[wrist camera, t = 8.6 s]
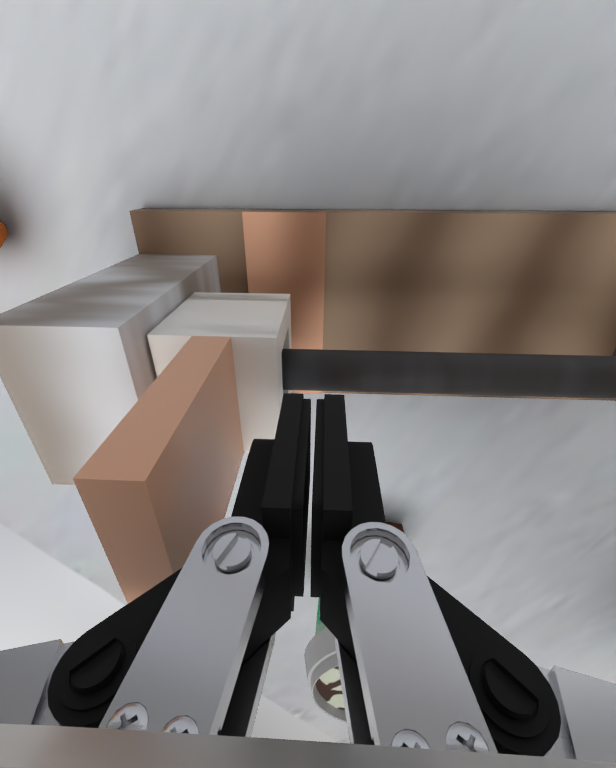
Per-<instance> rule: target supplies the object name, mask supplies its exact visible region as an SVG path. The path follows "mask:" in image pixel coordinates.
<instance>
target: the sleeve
mask: <svg viewBox="0 0 616 768" xmlns="http://www.w3.org/2000/svg"><path fill="white" fill-rule="evenodd" d="M147 337H148V341H149V345H150V350H151V354H152V358H153V362H154V366H155V371H156V375H157V378H156V380H155V381H154V382H153V383H152V384H151V385H150V387H149V388H148V389H147V390H146V391H145V393H144V394H143V395H142V396H141V397H140V399H139V400H138V401H137V402H136V403H135V405H134V406H133V407H132V408H131V409H130V411H129V412H128V413H127V414H126V415H125V417H124V418H123V419H122V420H121V421H120V423H119V424H118V425H117V426H116V427H115V429H114V430H113V431H112V432H111V433H110V435H109V436H108V437H107V438H106V439H105V441H104V442H103V443H102V444H101V445H100V447H99V448H98V449H97V450H96V451H95V453H94V454H93V455H92V456H91V457H90V459H89V460H88V461H87V462H86V463H85V464H84V466H83V467H82V468H81V469H80V470H79V472H78V473H77V474H76V475H75V476H74V478H73V480H74V483H75V485H76V487H77V489H78V492H79V494H80V496H81V498H82V501H83V503H84V505H85V507H86V510H87V512H88V514H89V517H90V519H91V521H92V523H93V526H94V528H95V530H96V532H97V535H98V537H99V539H100V541H101V544H102V546H103V548H104V551H105V553H106V555H107V557H108V560H109V562H110V564H111V566H112V569H113V571H114V573H115V575H116V578H117V580H118V582H119V585H120V587H121V589H122V591H123V594H124V596H125V598H126V600H127V603H128V604H129V603H130V602H132V601H133V600H135V599H136V598H138V597H139V596H140V595H142V594H143V593H145V592H146V591H148V590H149V589H151V588H152V587H154V586H155V585H157V584H158V583H160V582H161V581H163V580H164V579H166V578H167V577H169V576H170V575H172V574H173V573H175V572H176V571H178V570H179V569H181V568H182V567H183V566H184V564H185V562H186V560H187V558H188V556H189V554H190V553H191V551H192V549H193V547H194V545H195V543H196V541H197V540H198V538H199V537H200V535H201V534H202V533H203V531H204V530H206V529H207V528H208V527H209V526H210V525H212V524H213V523H215V522H217V521H219V520H221V519H224V517H225V514H226V511H227V507H228V504H229V501H230V497H231V494H232V491H233V487H234V484H235V481H236V477H237V474H238V471H239V467H240V464H241V461H242V457H243V454H244V453H249V451H250V447H251V444H252V441H253V440H254V439H275V435H276V430H277V425H278V420H279V414H280V409H281V404H282V399H283V394H284V393H292V390H283V382H282V356H281V353H282V349H292V347H291V303H290V294H266V293H204V292H194V293H193V294H192V295H191V296H190V297H189V298H188V299H187V300H185V301H184V302H183V303H182V304H181V305H180V306H179V307H178V308H177V309H175V310H174V311H173V312H172V313H171V314H170V315H169V316H168V317H166V318H165V319H164V320H163V321H162V322H161V323H160V324H159V325H158V326H156V327H155V328H154V329H153V330H152V331H151V332H150V333H149V334H148V335H147Z"/></svg>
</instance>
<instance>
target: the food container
mask: <svg viewBox="0 0 616 768" xmlns="http://www.w3.org/2000/svg"><path fill="white" fill-rule="evenodd" d="M386 524H388V525H391V526H393V527H395V528H397V529H398V530H400V531H402V532H403V533H404V530H403V526H402V525H400V524H396V523H391V522H386ZM404 534H405V533H404ZM304 656H305V664H306V671H307V679H308V686H309V688H310V690H311V692H312V698H313V700H314V702H315V704H316V705H317V706H318V707H319V708H320V709H321V710H322V711H324V712H325V713H326V714H328V715H330V716H331V717H333V718H335V719H338V720H340V721H342V722H346V723H347V720H346V713H345V706H344V700H343V693H342V686H341V680H340V673H339V666H338V660H337V653H336V646H335V636H334V635H333V634H332V633H331V632H330V631H329V629H328V628H327V627H326V626H325V625H324V624H323V623H322V622H321V620H320V597H319V602H318V612H317V623H316V634H315V636H314V637H313V638H312V640H311V641H310V642H309V643H308V645H307V647H306V650H305V655H304Z"/></svg>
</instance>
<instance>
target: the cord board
mask: <svg viewBox="0 0 616 768" xmlns="http://www.w3.org/2000/svg"><path fill="white" fill-rule="evenodd" d="M130 215H131V219H132V224H133V228H134V233H135V237H136V242H137V246H138V251H139V254H138V255H136V256H134V257H131V258H129V259H127V260H124V261H122V262H120V263H117V264H115V265H113V266H111V267H108V268H106V269H104V270H101V271H99V272H97V273H94V274H92V275H90V276H87V277H85V278H83V279H80V280H78V281H76V282H73V283H71V284H69V285H66V286H64V287H62V288H59V289H57V290H55V291H53V292H50V293H48V294H46V295H43V296H41V297H39V298H36V299H34V300H32V301H29V302H27V303H25V304H22V305H20V306H18V307H15V308H13V309H11V310H8V311H6V312H4V313H1V314H0V377H1V379H2V382H3V384H4V386H5V388H6V390H7V392H8V394H9V396H10V398H11V400H12V402H13V404H14V406H15V408H16V410H17V412H18V415H19V417H20V419H21V421H22V423H23V425H24V427H25V429H26V431H27V433H28V435H29V437H30V439H31V441H32V443H33V445H34V448H35V450H36V452H37V454H38V456H39V458H40V460H41V462H42V464H43V466H44V468H45V470H46V472H47V474H48V476H49V478H50V481H51V483H52V484H65V485H75V483H74V480H73V478H74V476H75V475H76V474H77V473H78V472H79V470H80V469H81V468H82V467H83V466H84V464H85V463H86V462H87V461H88V460H89V459H90V457H91V456H92V455H93V454H94V453H95V451H96V450H97V449H98V448H99V447H100V445H101V444H102V443H103V442H104V441H105V439H106V438H107V437H108V436H109V435H110V433H111V432H112V431H113V430H114V429H115V427H116V426H117V425H118V424H119V423H120V421H121V420H122V419H123V418H124V417H125V415H126V414H127V413H128V412H129V411H130V409H131V408H132V407H133V406H134V405H135V403H136V402H137V401H138V400H139V399H140V397H141V396H142V395H143V394H144V393H145V391H146V390H147V389H148V388H149V387H150V385H151V384H152V383H153V382H154V381H155V380H156V378H157V375H156V371H155V366H154V362H153V358H152V354H151V350H150V345H149V341H148V337H147V335H148V334H149V333H150V332H151V331H152V330H153V329H154V328H155V327H156V326H158V325H159V324H160V323H161V322H162V321H163V320H164V319H165V318H166V317H168V316H169V315H170V314H171V313H172V312H173V311H174V310H175V309H177V308H178V307H179V306H180V305H181V304H182V303H183V302H184V301H185V300H187V299H188V298H189V297H190V296H191V295H192V294H193V293H194V292H204V293H266V294H290V303H291V347H292V349H282V353H281V356H282V382H283V390H292V393H357V394H394V395H431V396H468V397H505V398H541V399H578V400H615V401H616V211H467V210H318V209H169V208H142V209H137V210H132V211H130Z"/></svg>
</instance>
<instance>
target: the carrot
mask: <svg viewBox="0 0 616 768" xmlns="http://www.w3.org/2000/svg"><path fill="white" fill-rule="evenodd" d="M7 236H8V234H7V230H6V226H5V225H4V224H3V223H2V222H1V221H0V248H1V246H2V245H3V243H4V241H5V239H6V237H7Z"/></svg>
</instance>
